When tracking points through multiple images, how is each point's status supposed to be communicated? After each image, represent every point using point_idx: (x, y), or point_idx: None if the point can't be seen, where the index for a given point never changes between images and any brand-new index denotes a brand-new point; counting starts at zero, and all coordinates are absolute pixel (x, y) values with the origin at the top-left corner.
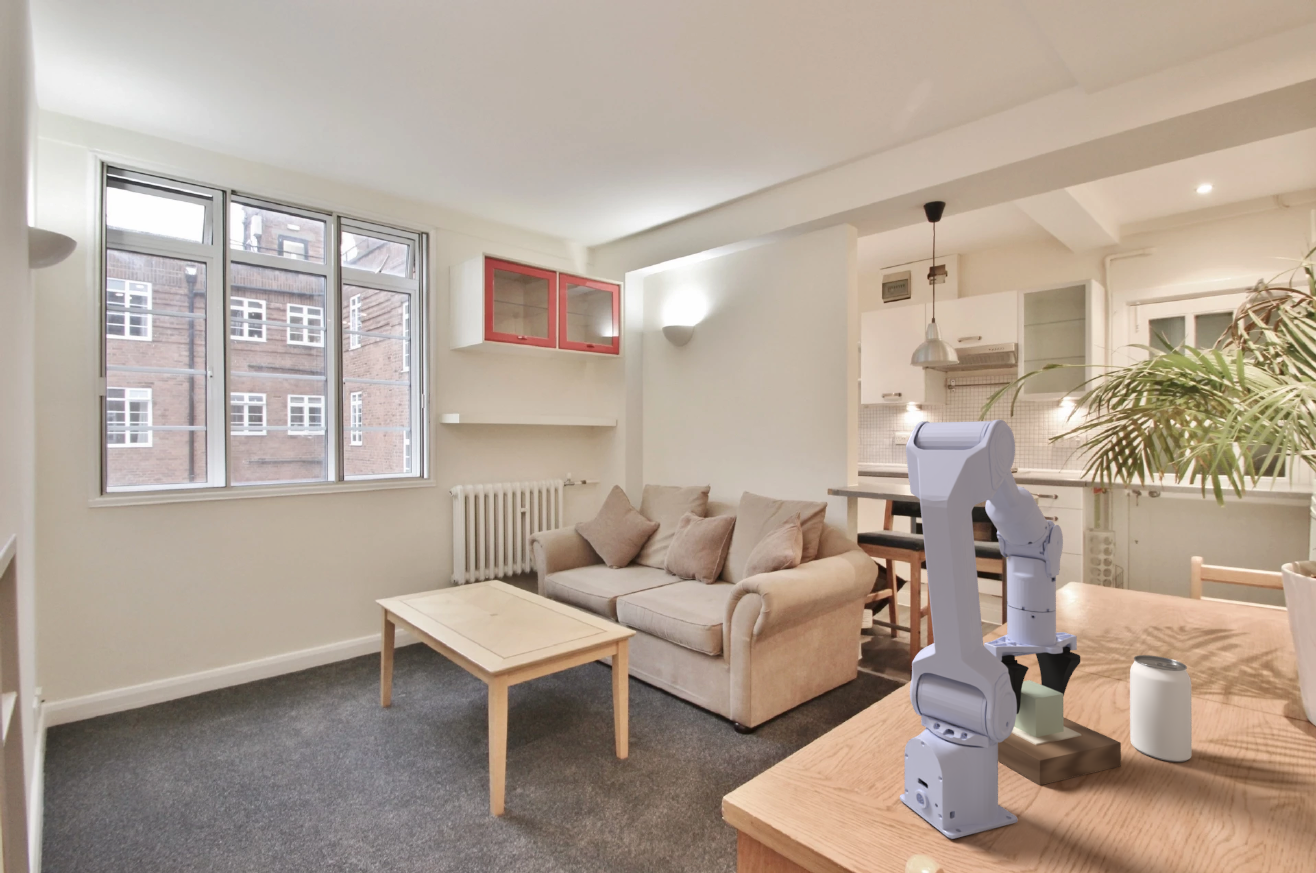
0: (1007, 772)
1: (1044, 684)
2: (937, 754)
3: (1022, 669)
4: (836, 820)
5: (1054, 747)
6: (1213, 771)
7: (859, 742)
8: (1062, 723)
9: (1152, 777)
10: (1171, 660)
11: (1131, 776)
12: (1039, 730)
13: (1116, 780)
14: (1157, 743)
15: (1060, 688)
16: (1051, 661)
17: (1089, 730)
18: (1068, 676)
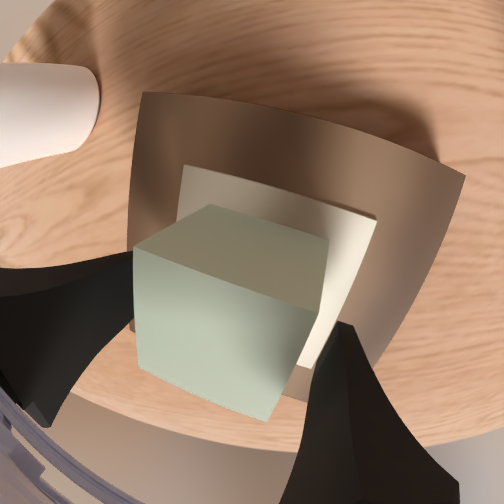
0: None
1: (115, 325)
2: None
3: (419, 499)
4: None
5: (342, 176)
6: (82, 38)
7: (466, 420)
8: (201, 211)
9: (173, 45)
10: None
11: (204, 62)
12: (310, 241)
13: (253, 66)
14: (78, 86)
15: (104, 273)
16: (39, 362)
17: (139, 169)
18: (45, 273)
